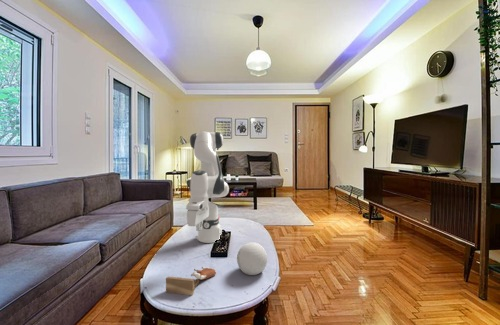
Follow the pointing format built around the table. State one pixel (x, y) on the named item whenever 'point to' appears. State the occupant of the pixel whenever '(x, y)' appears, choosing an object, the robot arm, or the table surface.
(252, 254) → the decorative object
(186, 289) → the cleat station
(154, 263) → the table surface
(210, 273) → the bull figurine
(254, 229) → the table surface
